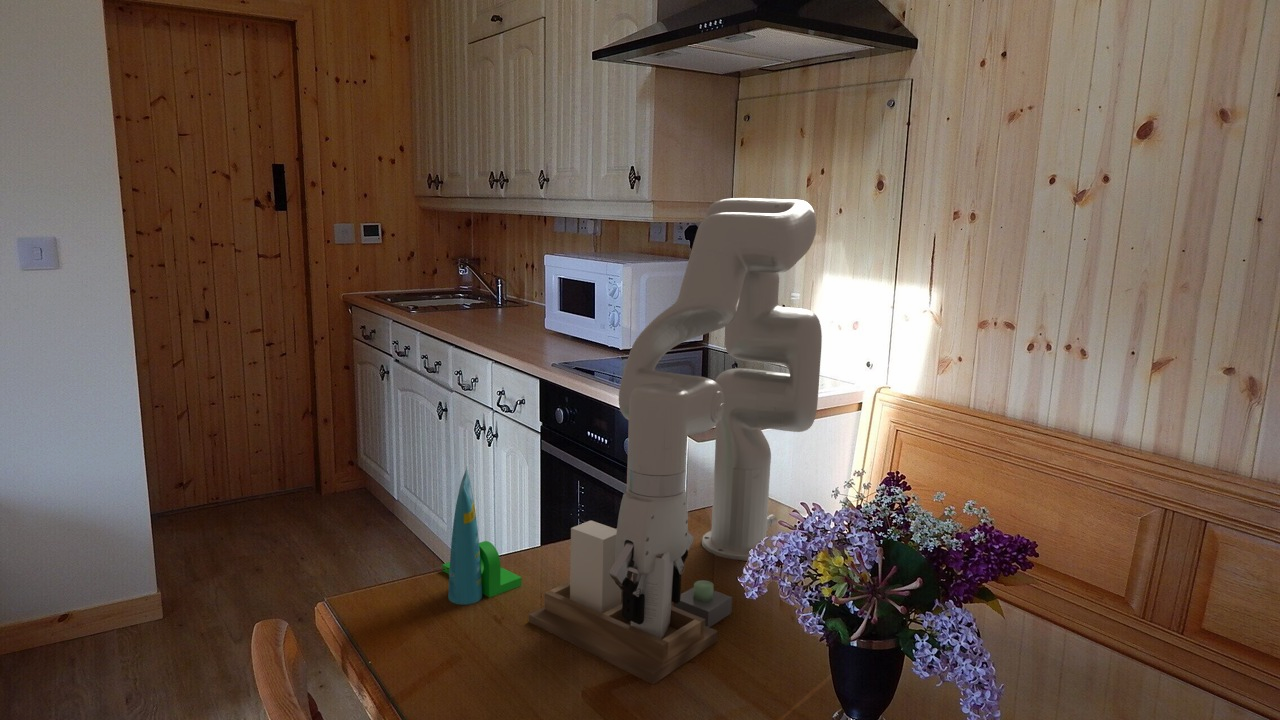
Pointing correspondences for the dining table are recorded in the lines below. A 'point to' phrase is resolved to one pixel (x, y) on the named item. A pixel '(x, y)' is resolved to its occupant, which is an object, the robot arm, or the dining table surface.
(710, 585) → the button
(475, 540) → the tube
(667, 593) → the skincare box
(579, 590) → the billet
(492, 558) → the mechanical part
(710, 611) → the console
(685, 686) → the dining table surface
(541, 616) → the wooden compartment tray
